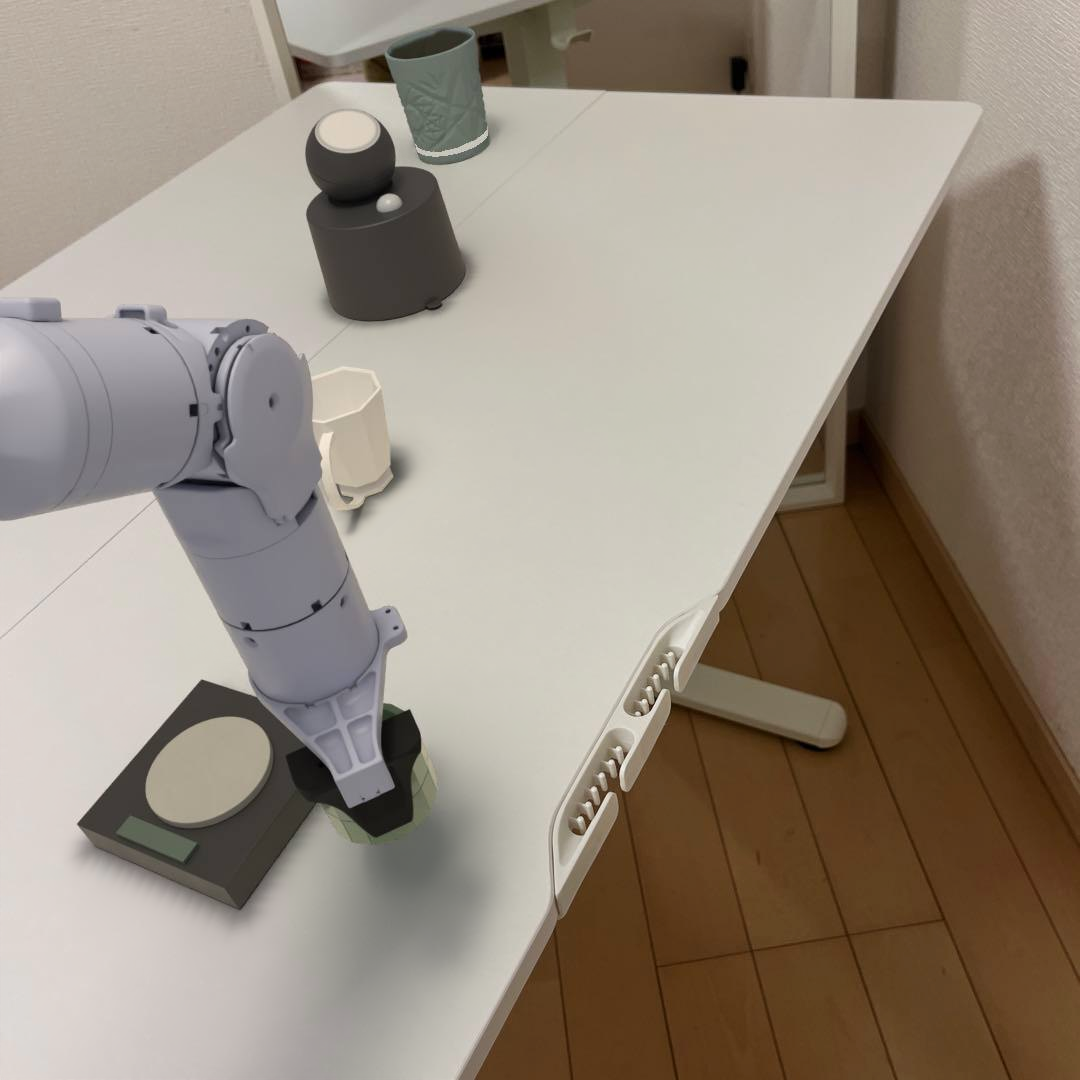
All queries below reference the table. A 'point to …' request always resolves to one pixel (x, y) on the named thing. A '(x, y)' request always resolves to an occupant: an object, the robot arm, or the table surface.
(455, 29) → the green embossed plant pot
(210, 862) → the scale
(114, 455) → the robot arm
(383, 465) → the cup
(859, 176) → the table surface
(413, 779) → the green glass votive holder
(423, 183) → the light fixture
